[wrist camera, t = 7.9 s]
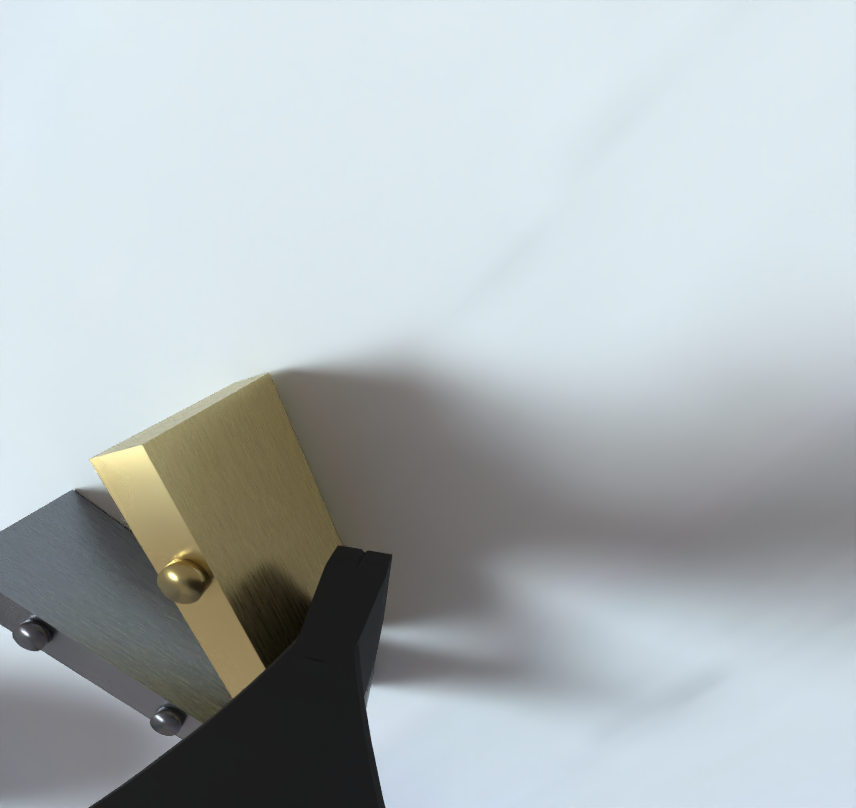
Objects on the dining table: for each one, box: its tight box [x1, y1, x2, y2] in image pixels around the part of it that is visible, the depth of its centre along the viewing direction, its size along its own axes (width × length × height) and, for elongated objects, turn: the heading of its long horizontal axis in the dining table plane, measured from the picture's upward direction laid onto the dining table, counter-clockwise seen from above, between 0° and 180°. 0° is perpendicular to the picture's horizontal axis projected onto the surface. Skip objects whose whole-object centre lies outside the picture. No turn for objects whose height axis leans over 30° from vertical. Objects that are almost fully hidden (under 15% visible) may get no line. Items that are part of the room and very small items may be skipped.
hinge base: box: [0, 490, 374, 740], centre depth 10 cm, size 12×3×7 cm, turn 47°
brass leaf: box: [89, 373, 366, 698], centre depth 10 cm, size 9×1×5 cm, turn 17°
